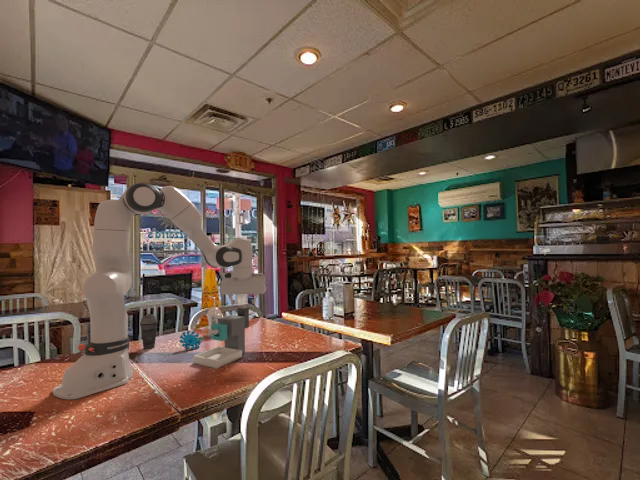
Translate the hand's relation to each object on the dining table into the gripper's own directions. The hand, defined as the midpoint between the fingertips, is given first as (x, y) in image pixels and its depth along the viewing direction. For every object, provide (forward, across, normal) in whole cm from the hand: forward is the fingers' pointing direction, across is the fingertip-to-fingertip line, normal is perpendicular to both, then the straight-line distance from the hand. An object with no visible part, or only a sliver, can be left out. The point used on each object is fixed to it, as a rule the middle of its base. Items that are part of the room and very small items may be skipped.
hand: (243, 304), depth 143 cm
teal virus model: (+21, +25, -2) cm, 33 cm away
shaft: (+10, +4, +8) cm, 14 cm away
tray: (+20, +7, +14) cm, 26 cm away
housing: (+20, +4, +7) cm, 22 cm away
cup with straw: (+21, +24, -27) cm, 42 cm away
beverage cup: (+20, +45, -2) cm, 50 cm away
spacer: (+12, +7, +13) cm, 19 cm away
